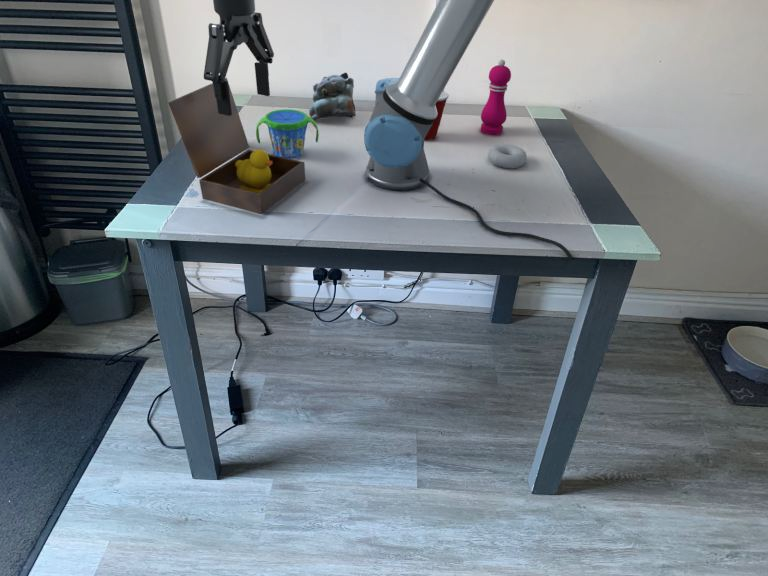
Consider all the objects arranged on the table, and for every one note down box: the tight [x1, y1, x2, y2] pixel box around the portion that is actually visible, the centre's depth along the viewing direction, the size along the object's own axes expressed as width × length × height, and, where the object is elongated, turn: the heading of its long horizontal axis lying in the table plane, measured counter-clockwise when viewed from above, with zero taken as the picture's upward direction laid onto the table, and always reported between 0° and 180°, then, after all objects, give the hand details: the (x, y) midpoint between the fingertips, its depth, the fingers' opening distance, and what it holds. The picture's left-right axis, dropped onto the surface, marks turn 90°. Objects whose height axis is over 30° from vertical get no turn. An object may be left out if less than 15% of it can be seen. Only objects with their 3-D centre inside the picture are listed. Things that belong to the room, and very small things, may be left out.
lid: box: [167, 77, 250, 179], centre depth 123 cm, size 16×18×5 cm
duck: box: [235, 149, 273, 193], centre depth 124 cm, size 9×6×10 cm, turn 66°
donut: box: [487, 143, 528, 169], centre depth 144 cm, size 10×3×10 cm
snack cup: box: [255, 108, 320, 159], centre depth 141 cm, size 16×10×10 cm
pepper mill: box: [480, 59, 512, 136], centre depth 156 cm, size 7×7×20 cm
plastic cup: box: [424, 91, 450, 141], centre depth 153 cm, size 11×11×12 cm
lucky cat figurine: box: [308, 72, 357, 121], centre depth 164 cm, size 15×12×14 cm
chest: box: [199, 149, 306, 215], centre depth 126 cm, size 15×18×5 cm
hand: (245, 104), depth 116 cm, fingers open, 13 cm apart
